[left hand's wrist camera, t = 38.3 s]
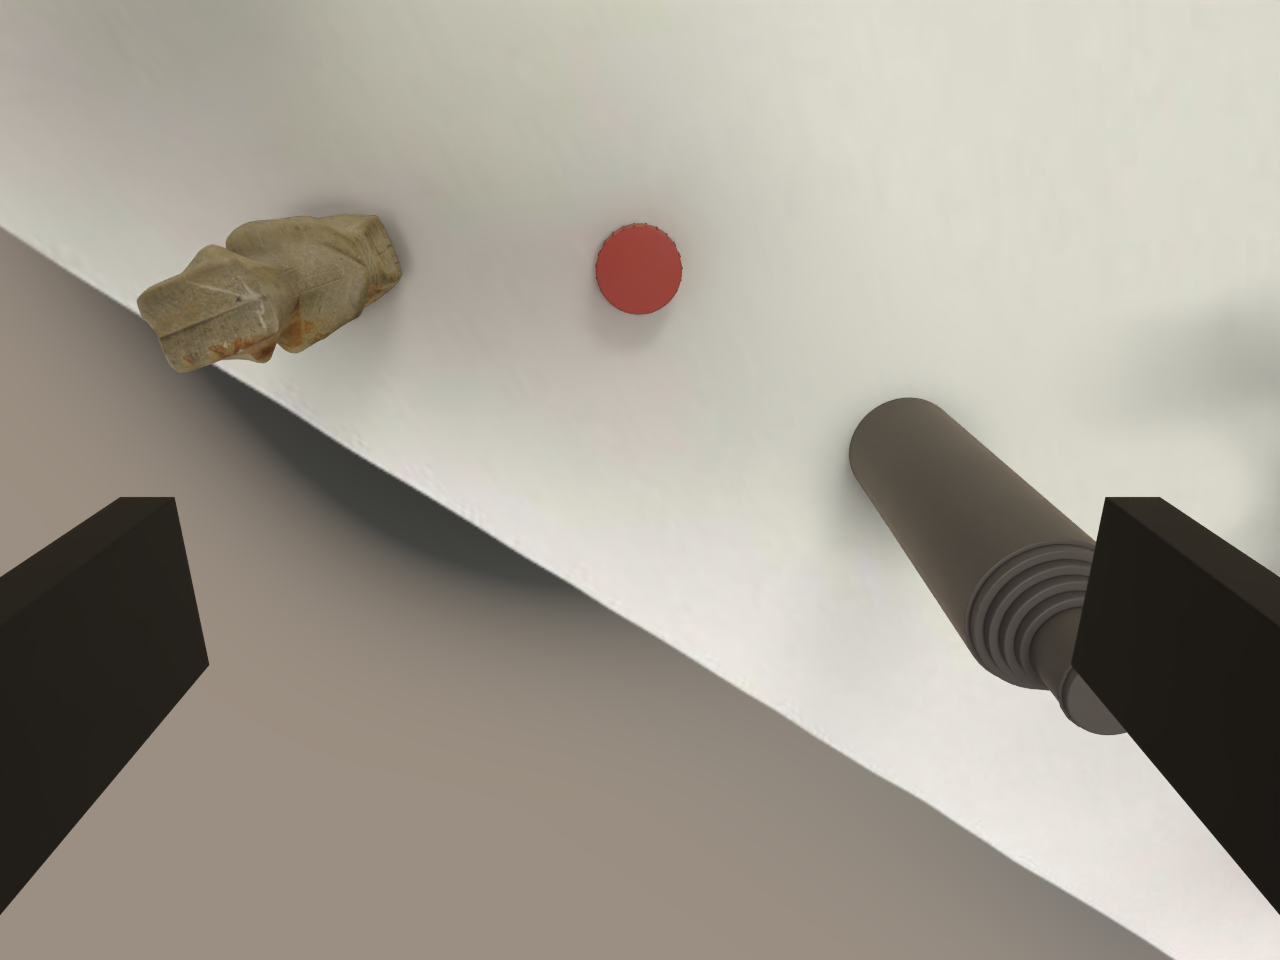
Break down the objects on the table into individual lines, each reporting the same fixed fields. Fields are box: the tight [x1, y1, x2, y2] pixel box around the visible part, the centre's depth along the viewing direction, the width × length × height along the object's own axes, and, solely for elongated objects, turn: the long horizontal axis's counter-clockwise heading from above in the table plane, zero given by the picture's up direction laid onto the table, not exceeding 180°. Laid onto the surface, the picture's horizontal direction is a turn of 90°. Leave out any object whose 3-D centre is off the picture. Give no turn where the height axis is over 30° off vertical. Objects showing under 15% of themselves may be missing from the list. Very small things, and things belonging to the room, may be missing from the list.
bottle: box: [849, 398, 1126, 735], centre depth 39 cm, size 6×6×24 cm
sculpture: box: [137, 214, 402, 372], centre depth 40 cm, size 6×7×15 cm
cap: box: [596, 223, 683, 314], centre depth 46 cm, size 4×4×2 cm
